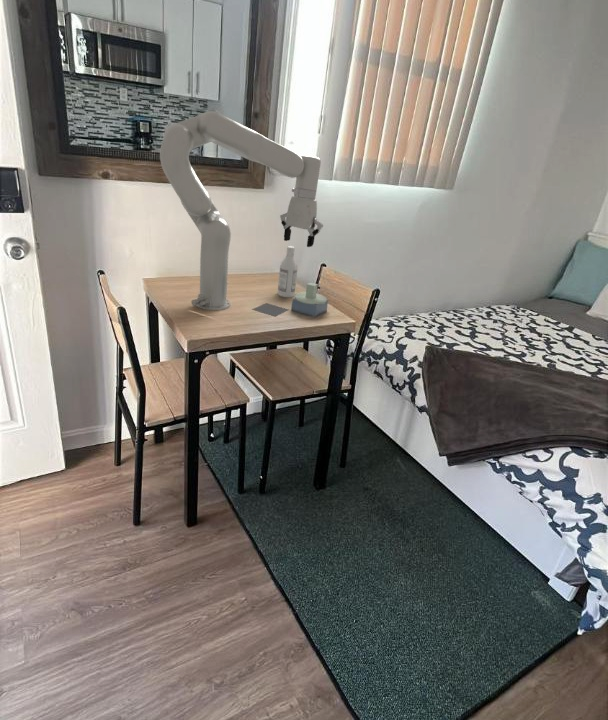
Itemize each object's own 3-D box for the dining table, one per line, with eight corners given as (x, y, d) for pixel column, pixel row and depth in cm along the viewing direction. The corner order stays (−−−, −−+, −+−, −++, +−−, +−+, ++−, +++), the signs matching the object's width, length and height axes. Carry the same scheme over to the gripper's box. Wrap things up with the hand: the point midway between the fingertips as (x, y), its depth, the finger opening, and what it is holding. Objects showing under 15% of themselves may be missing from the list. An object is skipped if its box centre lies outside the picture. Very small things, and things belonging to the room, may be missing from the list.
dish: (314, 318, 165) (316, 305, 163) (291, 311, 169) (292, 298, 167) (326, 311, 173) (328, 299, 171) (303, 305, 177) (305, 293, 175)
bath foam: (292, 293, 189) (297, 245, 180) (296, 298, 183) (301, 249, 175) (275, 292, 187) (280, 244, 178) (279, 298, 181) (284, 248, 173)
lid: (317, 307, 162) (320, 291, 159) (288, 298, 166) (290, 283, 164) (331, 299, 172) (333, 284, 169) (303, 291, 176) (305, 277, 173)
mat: (275, 317, 161) (275, 316, 161) (251, 310, 165) (251, 309, 164) (288, 310, 169) (289, 309, 169) (266, 304, 173) (266, 302, 173)
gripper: (278, 189, 157) (272, 239, 165) (321, 199, 151) (313, 250, 158) (289, 189, 163) (283, 237, 171) (331, 198, 157) (323, 247, 164)
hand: (298, 243), depth 164 cm, fingers open, 9 cm apart
